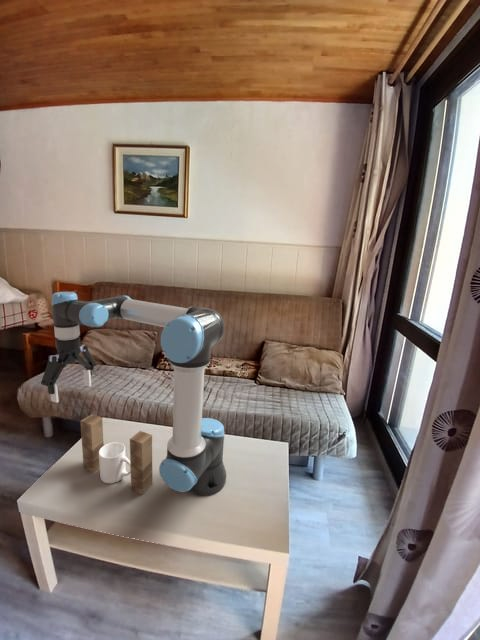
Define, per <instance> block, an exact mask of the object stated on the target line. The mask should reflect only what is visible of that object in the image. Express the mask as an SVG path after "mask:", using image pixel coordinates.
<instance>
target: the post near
mask: <svg viewBox="0 0 480 640" xmlns="http://www.w3.org/2000/svg"><path fill="white" fill-rule="evenodd" d="M129 453H130V454H129V461H130V464H131V473H130V489H131V490H132V491H134V492H136V493H138V494H140V495H144V494H145V493H146V492H147V491H148V490H149V489H150V488H151V487H152V486H153V435H152V434H150V433H147V432H144V431H142V430H139V431H138V432H136V434H134V435H133V436H131V437H130V438H129Z"/></svg>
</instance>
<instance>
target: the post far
mask: <svg viewBox="0 0 480 640" xmlns="http://www.w3.org/2000/svg"><path fill="white" fill-rule="evenodd" d="M79 421H80V423H79V424H80V434H81V436H80V437H81V448H82V449H81V450H82V461H83V469H84V470H86V471H88V472H90V473H92V474H95V473H97V472H98V471H100V464H99V450H100V449H101V448H102V447H103V446H104V445H105V444H104V428H103V427H104V426H103V417H101V416H99V415H95V414H93V413H91V414H89V415H88V416H86V417H84V418H83V419H81V420H79Z"/></svg>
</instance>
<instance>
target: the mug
mask: <svg viewBox="0 0 480 640" xmlns="http://www.w3.org/2000/svg"><path fill="white" fill-rule="evenodd" d="M99 464H100V469H99V475H100V477H99V478H100V480H101V481H102V482H103V483H105V484H114V483H117V482H119V481H120V480H123V478H124V477H127V476H129V475H131V464H130V458H128V457H127V456H126V446H125V445H124V443H121V442H117V441H115V442H114V441H113V442H108V443H107V444H104V446H103V447H102V448H101V449H100V450H99ZM126 464H128V466H129V468H130V470H129V471H127V469H126V468H127V465H126Z"/></svg>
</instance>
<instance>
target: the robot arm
mask: <svg viewBox="0 0 480 640" xmlns="http://www.w3.org/2000/svg"><path fill="white" fill-rule="evenodd" d="M78 299H79V298H78V294H77V293H75V292H73V291H58V292H54V293H53V294H51V311H52V321H53V327H54V328H53V329H54V337H55V340H54V342H55V349H56V351H57V353H56V354H53V355H52V354H49V355H48V356H47V364H46V367H45V369H44V373H43V375H42V379H41V382H40V385H42V386H45V387H47V393H48V394H49V395H50V402H53V403H56V404H57V403H60V402H59V401H60V400H59V392H58V383H57V381H58V378H59V377H60V375H61V374H62V372H63V370H64V368H65V367H67V365H70V364H71V363H74V362H78V363H79V364H80V365H81V366H82V367H83V368H84V369H82V371H83V372H82V373H83V384H84V386H86V387H92V378H91V377H92V376H93V375H92V371H93V370H94V369H95V367H96V365H97V363H96V361H95V360H94V358H93V356H92V355H91V353H90V352H89V351H90V350H89V348H88V347H89V346H88V345H87V344H86V345H85V344H81V337H80V336H81V331H80V325H84V326H87V327H91V328H93V327H94V328H100V327H102V326H104V324H106V322H108V321H110V320H115V319H121V320H125V321H131V322H137V323H142V324H147V325H151V326H155V327H161V328H163V329H162V331H161V334H160V346H161V347H160V348H161V349H162V351H163V352H164V355H165V356H166V357H167V359H168V363H169V364H170V365H171V366H172V367H173V396H172V397H173V399H172V401H173V402H172V436H171V437H170V438H169V439H168V441H167V444H166V445H167V446H166V447H167V448H166V457H165V458H164V459H163V460H162V461H161V463H160V464H159V468H158V469H159V475H160V477H161V480H163V482H164V483H165V484H166V485H167V486H168V487H169V488H171V489H172V490H174V491H177V492H179V493H185V492H188V491H189V492H191V493H192V494H196V495H199V496H210V495H211V496H212V495H215V494H217V493H219V492H220V491H221V490H222V489H223V488H224V487H225V485H226V482H227V471H226V468H225V464H224V461H223V459H224V457H223V455H224V445H225V444H224V442H225V434H226V433H225V427H224V424H223V423H222V422H220V421H219V420H217V419H215V418H210V417H203V407H204V406H203V405H204V403H203V402H204V388H205V387H204V384H205V383H204V382H205V381H204V380H205V368H206V367H207V366H208V365H209V364H210V363H211V355H212V354H211V353H212V352H211V351H212V350H211V349H212V347H214V346H215V345H217V344H218V343H219V342H220V341H221V340H222V339H223V337H224V335H225V331H226V325H225V320H224V318H223V316H222V315H221V314H220V313H219V312H218V311H216V310H215V309H212V308H210V307H209V308H208V307H202V306H201V307H200V306H194V305H192V306H191V305H190V307H188V308H186V307H180V306H176V305H169V304H162V303H156V302H149V301H144V300H137V299H132V298H131V297H130V296H129V295H117V296H112V297H108V298H102V299H95V300H92V301H83V300H78ZM80 353H81V355H82V356H83V357H84V358H83V357H82V356H81V355H80Z"/></svg>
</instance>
